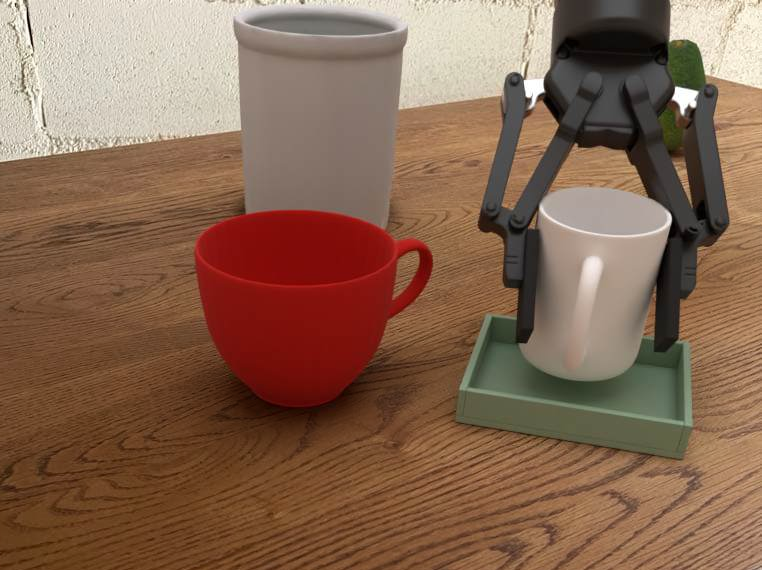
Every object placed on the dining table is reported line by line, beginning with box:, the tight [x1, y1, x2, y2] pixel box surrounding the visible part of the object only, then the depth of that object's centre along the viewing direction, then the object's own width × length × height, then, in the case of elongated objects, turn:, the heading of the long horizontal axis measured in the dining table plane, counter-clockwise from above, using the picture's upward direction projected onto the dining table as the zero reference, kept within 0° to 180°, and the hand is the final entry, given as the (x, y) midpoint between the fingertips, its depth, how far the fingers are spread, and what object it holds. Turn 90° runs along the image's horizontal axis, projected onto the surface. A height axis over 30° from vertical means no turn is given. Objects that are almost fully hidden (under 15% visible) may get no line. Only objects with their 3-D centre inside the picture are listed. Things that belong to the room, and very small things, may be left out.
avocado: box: [658, 38, 707, 151], centre depth 108 cm, size 8×8×12 cm
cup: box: [519, 186, 672, 381], centre depth 60 cm, size 8×12×10 cm
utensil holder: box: [232, 3, 409, 231], centre depth 84 cm, size 15×15×18 cm
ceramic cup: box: [193, 210, 434, 408], centre depth 63 cm, size 13×17×10 cm
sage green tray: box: [454, 312, 694, 460], centre depth 64 cm, size 15×12×2 cm
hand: (595, 340), depth 59 cm, fingers closed on cup, 8 cm apart
